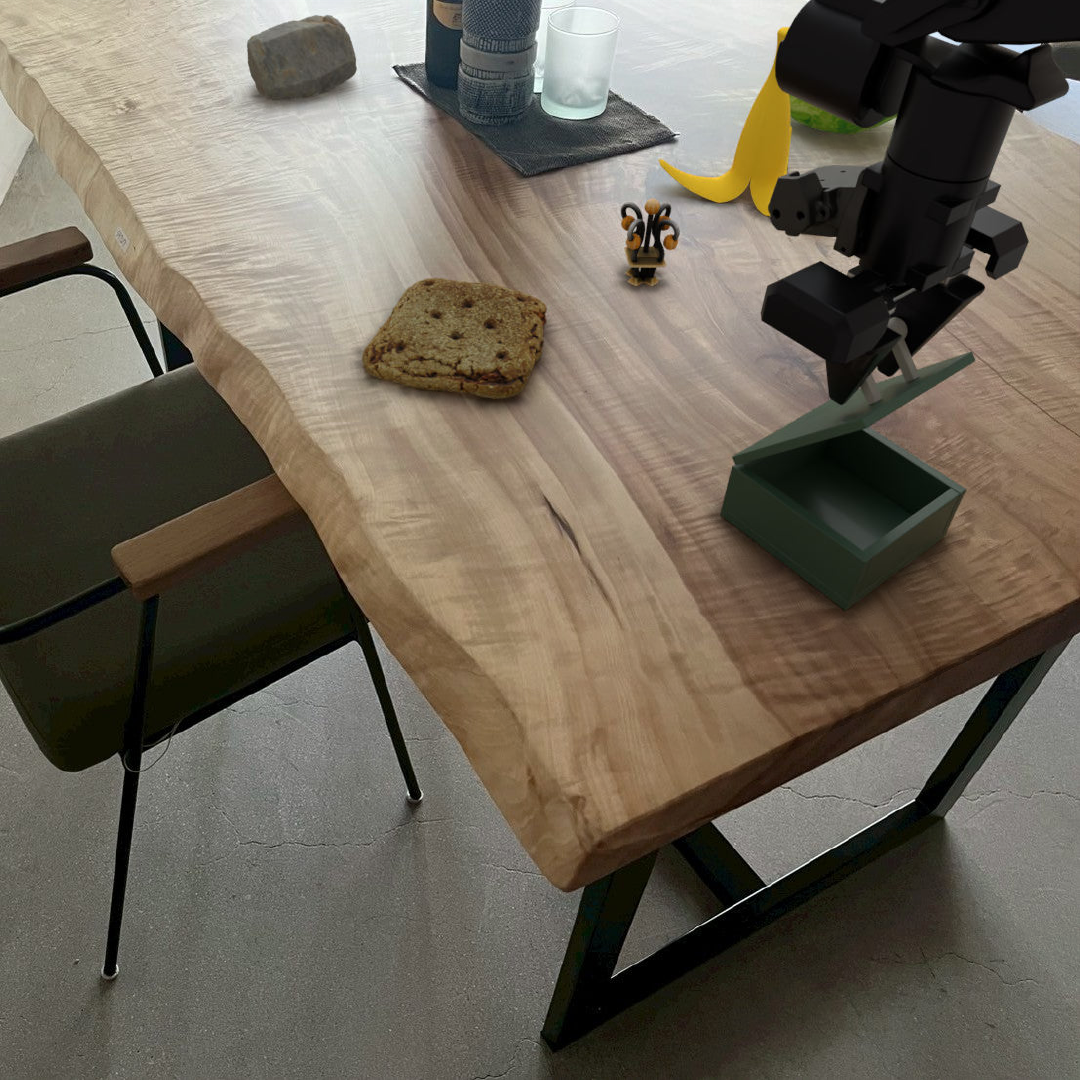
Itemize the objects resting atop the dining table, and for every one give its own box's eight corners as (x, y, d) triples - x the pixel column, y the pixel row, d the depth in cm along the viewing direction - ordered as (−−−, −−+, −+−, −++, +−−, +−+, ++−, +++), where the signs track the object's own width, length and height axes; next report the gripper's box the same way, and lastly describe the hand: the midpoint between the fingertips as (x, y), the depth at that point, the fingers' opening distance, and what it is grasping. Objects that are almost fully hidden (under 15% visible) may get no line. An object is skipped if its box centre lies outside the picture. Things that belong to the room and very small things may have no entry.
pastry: (497, 273, 98) (497, 245, 96) (599, 373, 88) (603, 344, 86) (323, 320, 91) (320, 290, 89) (413, 435, 81) (412, 404, 79)
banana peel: (649, 189, 111) (673, 24, 99) (778, 150, 119) (813, -7, 107) (757, 261, 102) (796, 88, 90) (887, 213, 110) (940, 50, 98)
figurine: (667, 263, 101) (672, 184, 95) (676, 291, 97) (682, 211, 91) (618, 267, 100) (620, 188, 94) (625, 295, 97) (627, 215, 91)
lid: (976, 360, 68) (947, 291, 67) (866, 428, 62) (833, 353, 62) (839, 404, 78) (813, 345, 78) (735, 466, 73) (706, 402, 72)
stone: (271, 111, 119) (262, 40, 114) (242, 84, 124) (232, 15, 118) (367, 90, 125) (363, 21, 119) (336, 66, 129) (331, -2, 123)
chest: (944, 537, 76) (967, 489, 73) (845, 611, 71) (865, 562, 67) (820, 453, 82) (836, 404, 79) (719, 514, 77) (731, 465, 73)
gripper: (918, 72, 66) (851, 287, 77) (716, 145, 57) (674, 377, 68) (1077, 138, 60) (981, 360, 72) (881, 231, 51) (806, 468, 63)
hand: (861, 386), depth 69 cm, fingers closed on lid, 5 cm apart
